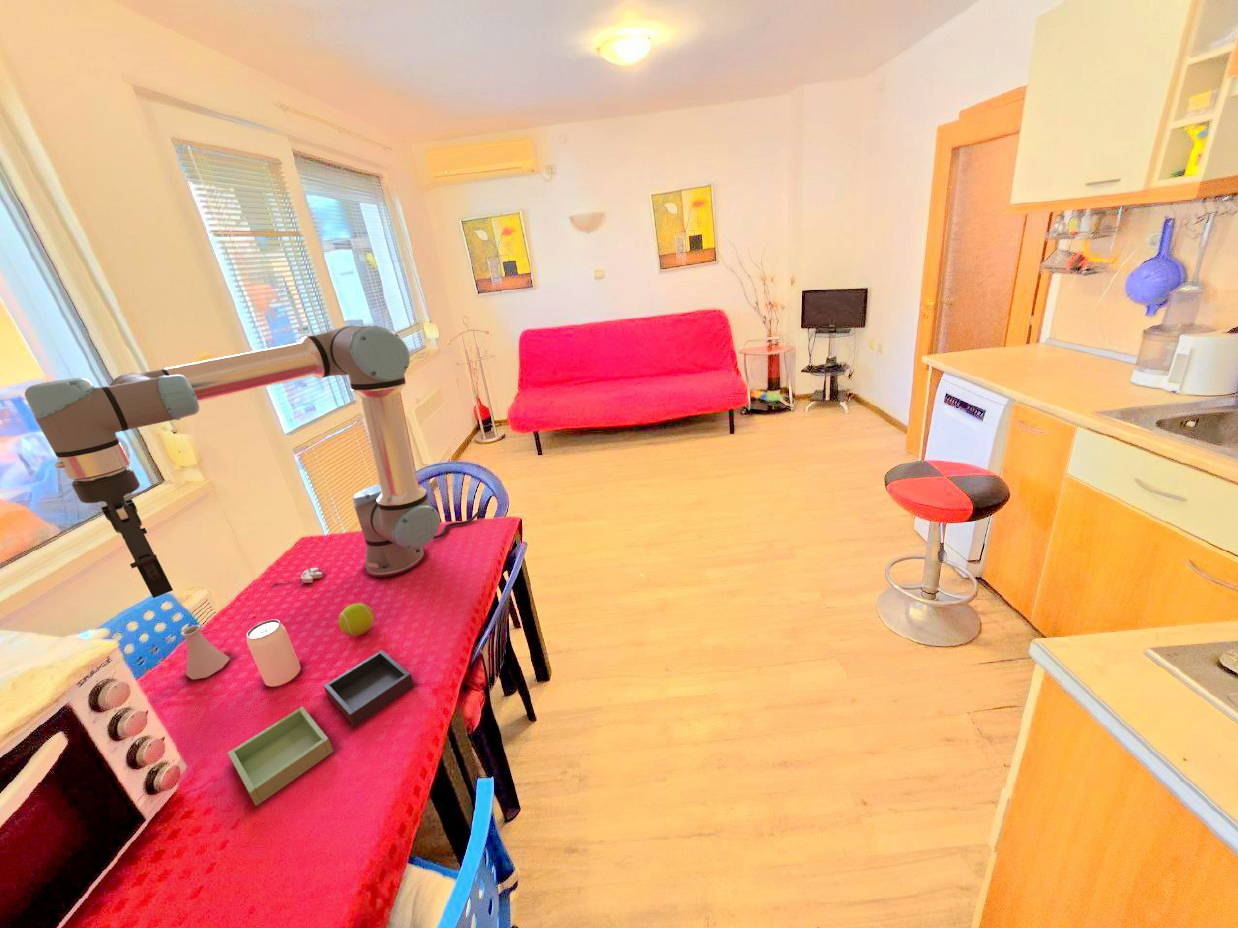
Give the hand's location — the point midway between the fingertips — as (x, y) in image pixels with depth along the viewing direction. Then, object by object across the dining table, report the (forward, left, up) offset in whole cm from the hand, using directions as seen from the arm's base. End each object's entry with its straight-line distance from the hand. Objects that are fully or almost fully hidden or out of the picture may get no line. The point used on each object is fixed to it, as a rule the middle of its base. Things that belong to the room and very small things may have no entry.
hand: (156, 580), depth 91 cm
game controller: (-27, -29, -27) cm, 48 cm away
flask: (-2, -9, -27) cm, 28 cm away
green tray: (-4, +30, -26) cm, 40 cm away
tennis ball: (-27, +8, -27) cm, 38 cm away
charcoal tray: (-20, +28, -26) cm, 43 cm away
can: (-11, +8, -27) cm, 30 cm away
